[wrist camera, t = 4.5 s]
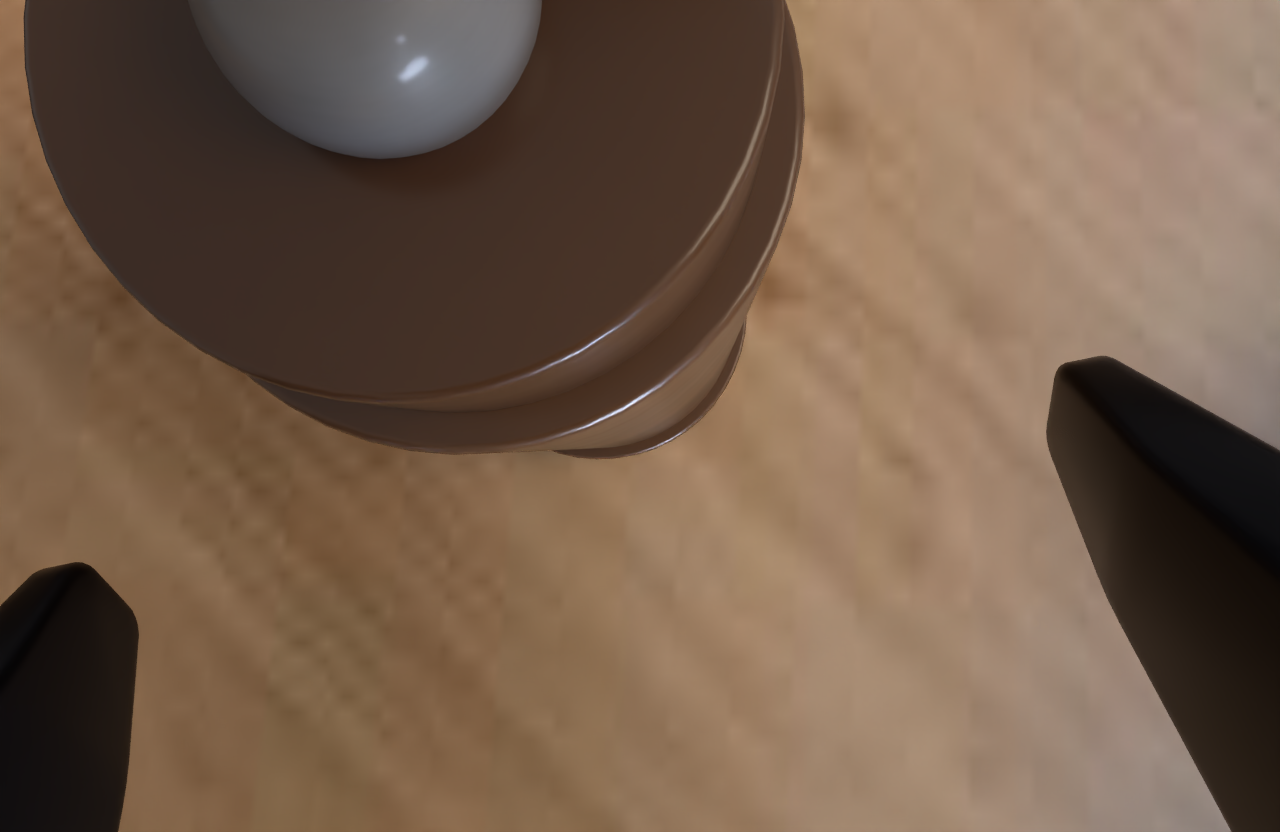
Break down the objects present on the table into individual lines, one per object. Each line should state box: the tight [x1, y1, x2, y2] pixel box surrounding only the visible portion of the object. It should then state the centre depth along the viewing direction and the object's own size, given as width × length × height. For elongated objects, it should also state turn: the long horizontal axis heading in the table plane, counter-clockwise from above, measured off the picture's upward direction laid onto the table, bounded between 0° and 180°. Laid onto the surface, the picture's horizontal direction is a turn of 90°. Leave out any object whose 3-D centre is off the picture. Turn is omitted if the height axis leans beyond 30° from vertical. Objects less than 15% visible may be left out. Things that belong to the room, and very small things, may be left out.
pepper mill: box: [24, 0, 805, 459], centre depth 12 cm, size 5×5×15 cm
